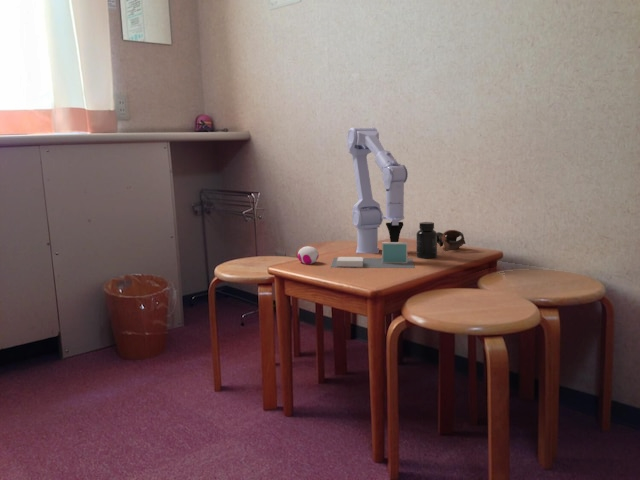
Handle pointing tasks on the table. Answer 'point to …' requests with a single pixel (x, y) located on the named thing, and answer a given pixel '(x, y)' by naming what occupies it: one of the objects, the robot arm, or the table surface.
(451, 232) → the brown curved piece
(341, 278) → the table surface
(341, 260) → the tile
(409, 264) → the mat
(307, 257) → the stress ball
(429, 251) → the supplement bottle
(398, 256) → the tile
